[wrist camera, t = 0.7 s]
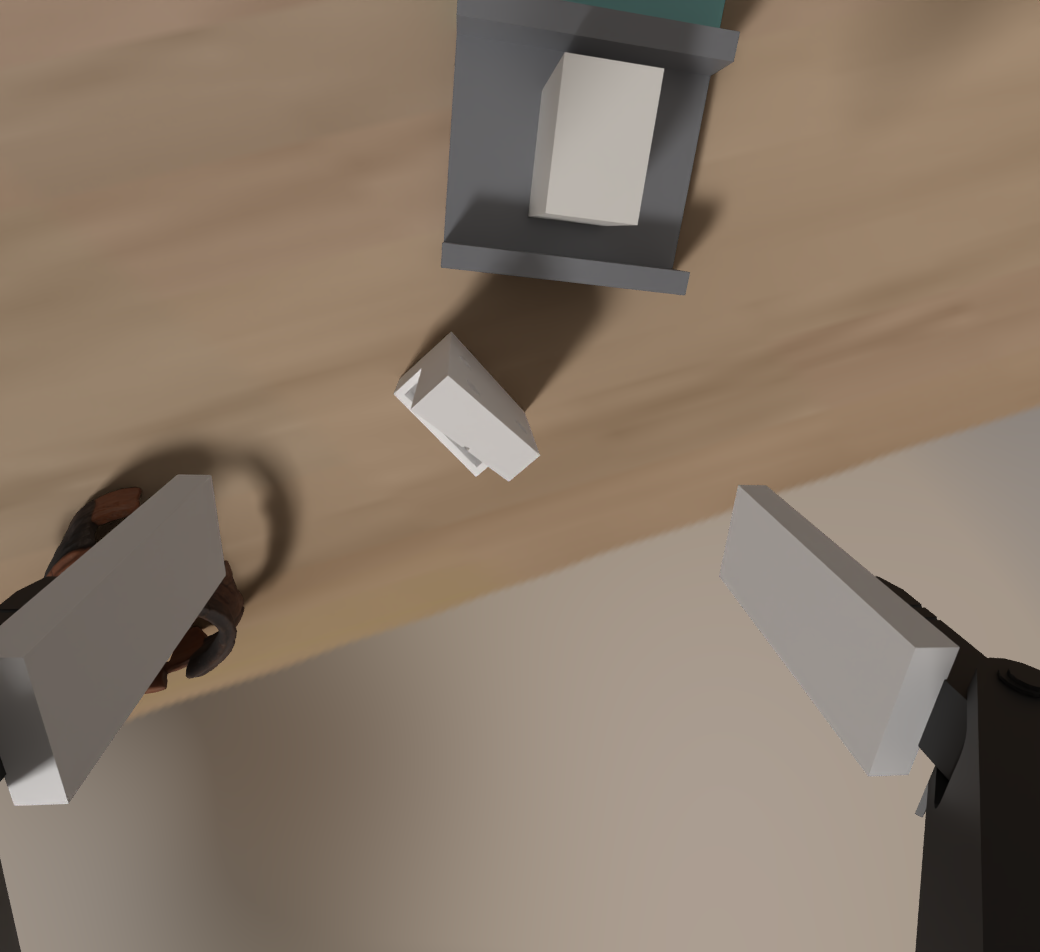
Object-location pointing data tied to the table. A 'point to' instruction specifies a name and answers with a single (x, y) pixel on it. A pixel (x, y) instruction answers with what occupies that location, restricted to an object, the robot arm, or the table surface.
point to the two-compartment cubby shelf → (514, 124)
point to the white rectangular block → (594, 141)
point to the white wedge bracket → (468, 410)
